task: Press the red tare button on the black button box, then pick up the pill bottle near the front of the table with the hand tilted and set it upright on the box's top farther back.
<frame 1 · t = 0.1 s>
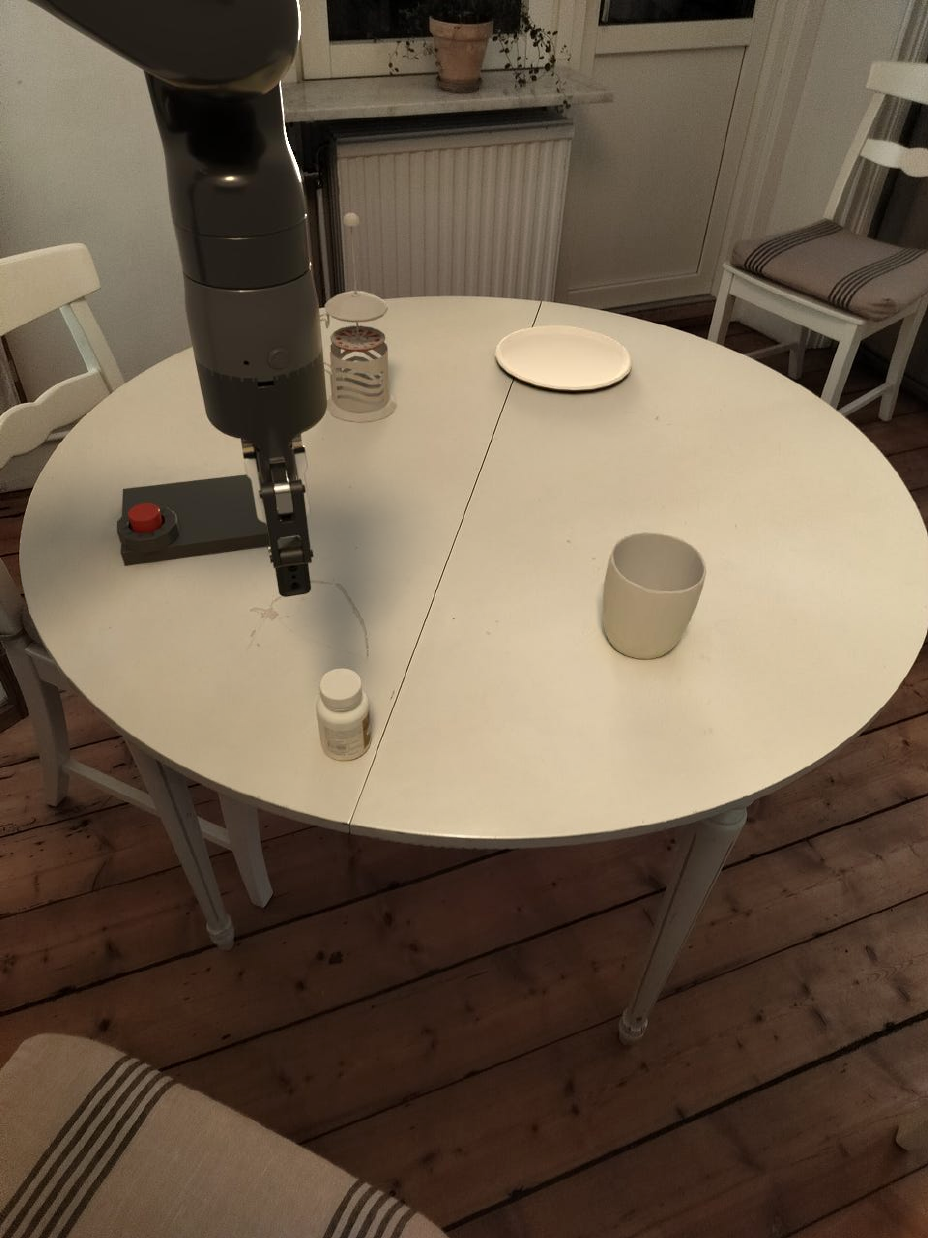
hand: (288, 554, 61), 20 cm above the table, tool pointing down, fingers open, 8 cm apart
french press: (355, 404, 116), on the table
black button box: (199, 522, 95), on the table
plate: (562, 363, 127), on the table
mug: (632, 625, 85), on the table
pill bottle: (346, 743, 73), on the table
tare button: (145, 518, 89), point 4 cm above the table, slide at 0.1 cm
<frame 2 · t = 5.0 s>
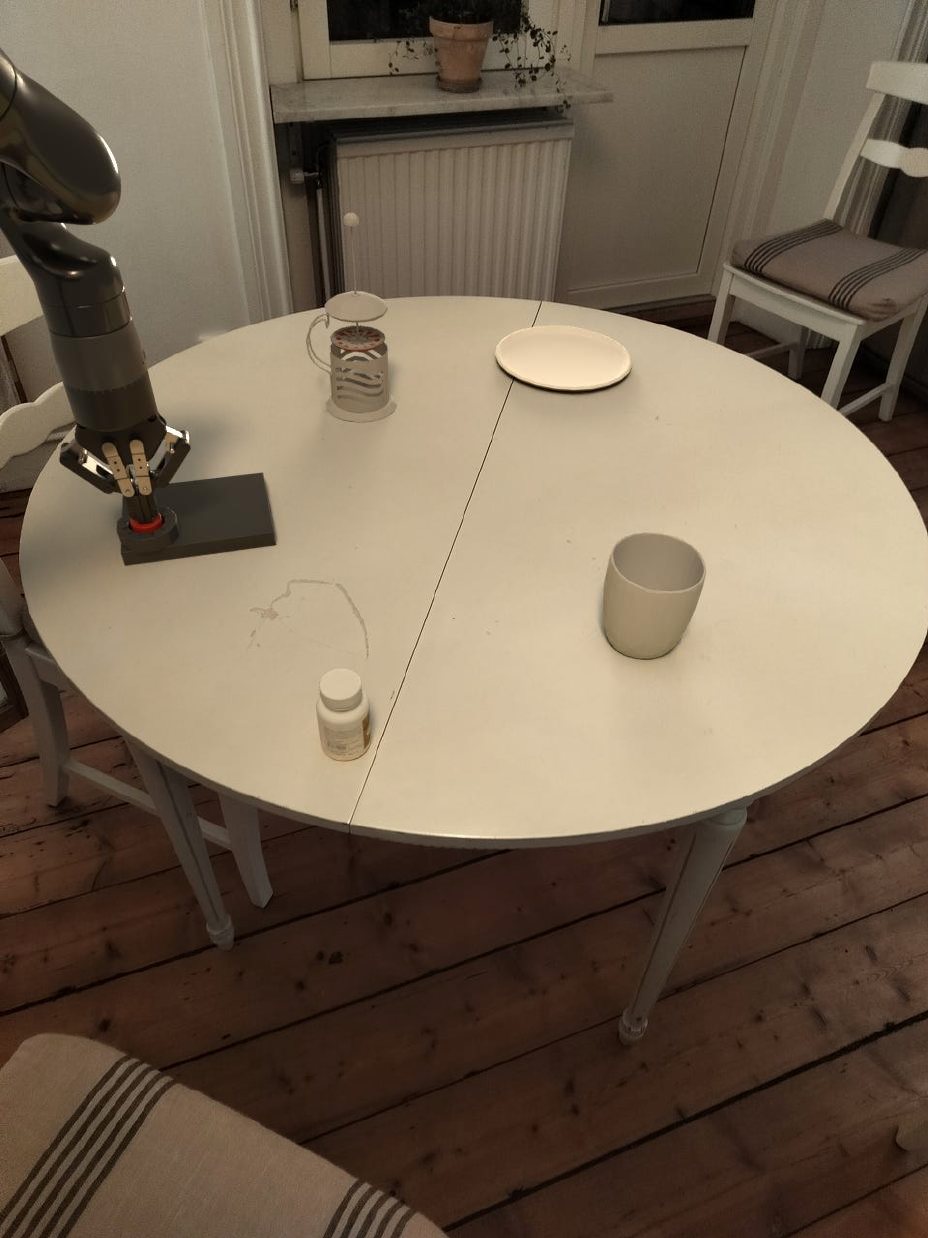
hand: (146, 518, 89), 4 cm above the table, tool pointing down, fingers closed
tare button: (147, 525, 89), point 3 cm above the table, slide at -0.8 cm, touching gripper
everything else where it was.
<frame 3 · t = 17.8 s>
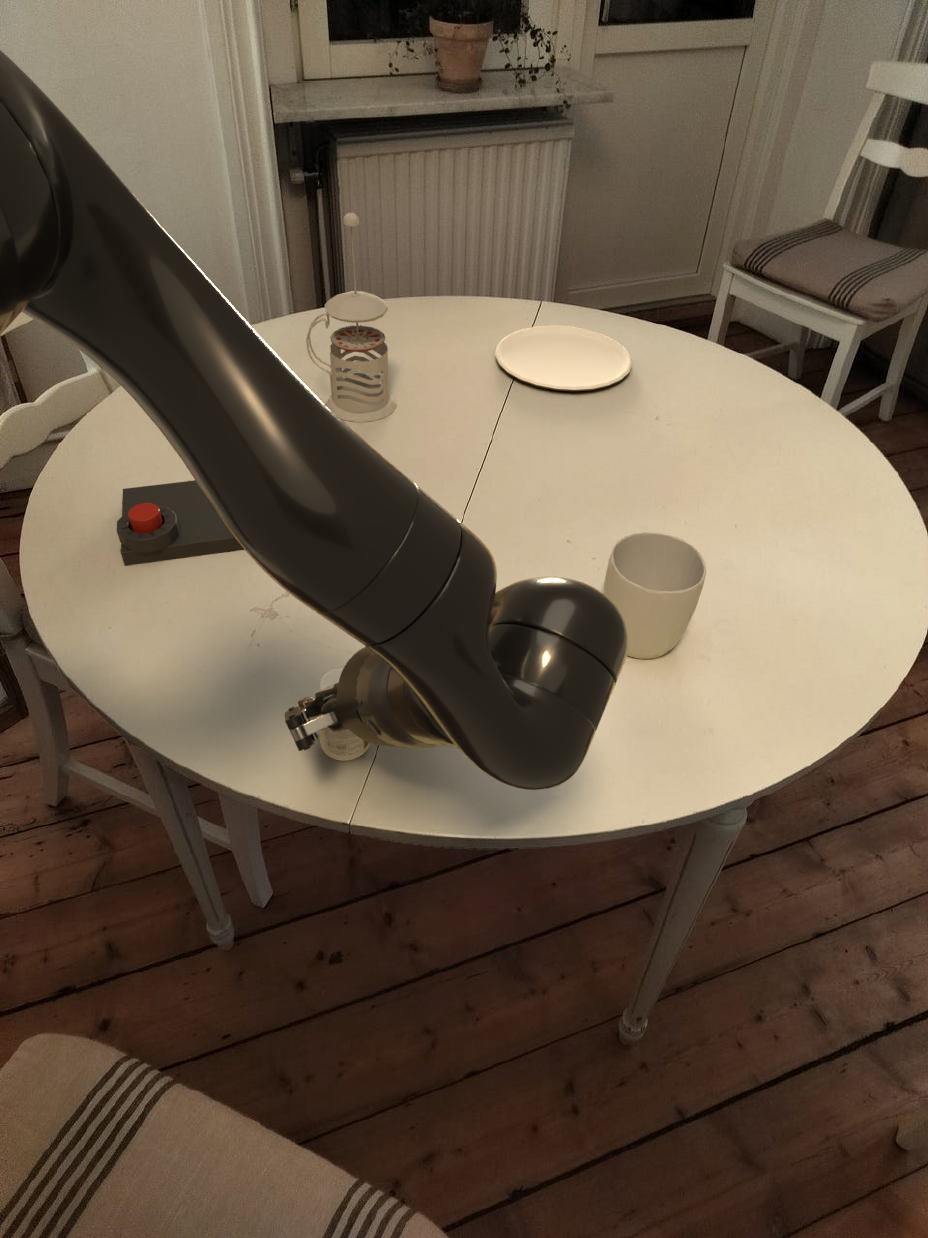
hand: (331, 698, 71), 4 cm above the table, tool tilted 45°, fingers closed on pill bottle, 4 cm apart
pill bottle: (346, 743, 73), on the table, touching gripper
tare button: (145, 518, 89), point 4 cm above the table, slide at 0.1 cm
everything else where it was.
when the fingers open (6 cm above the table, at t = 29.0 s): pill bottle stays where it is, resting on black button box.
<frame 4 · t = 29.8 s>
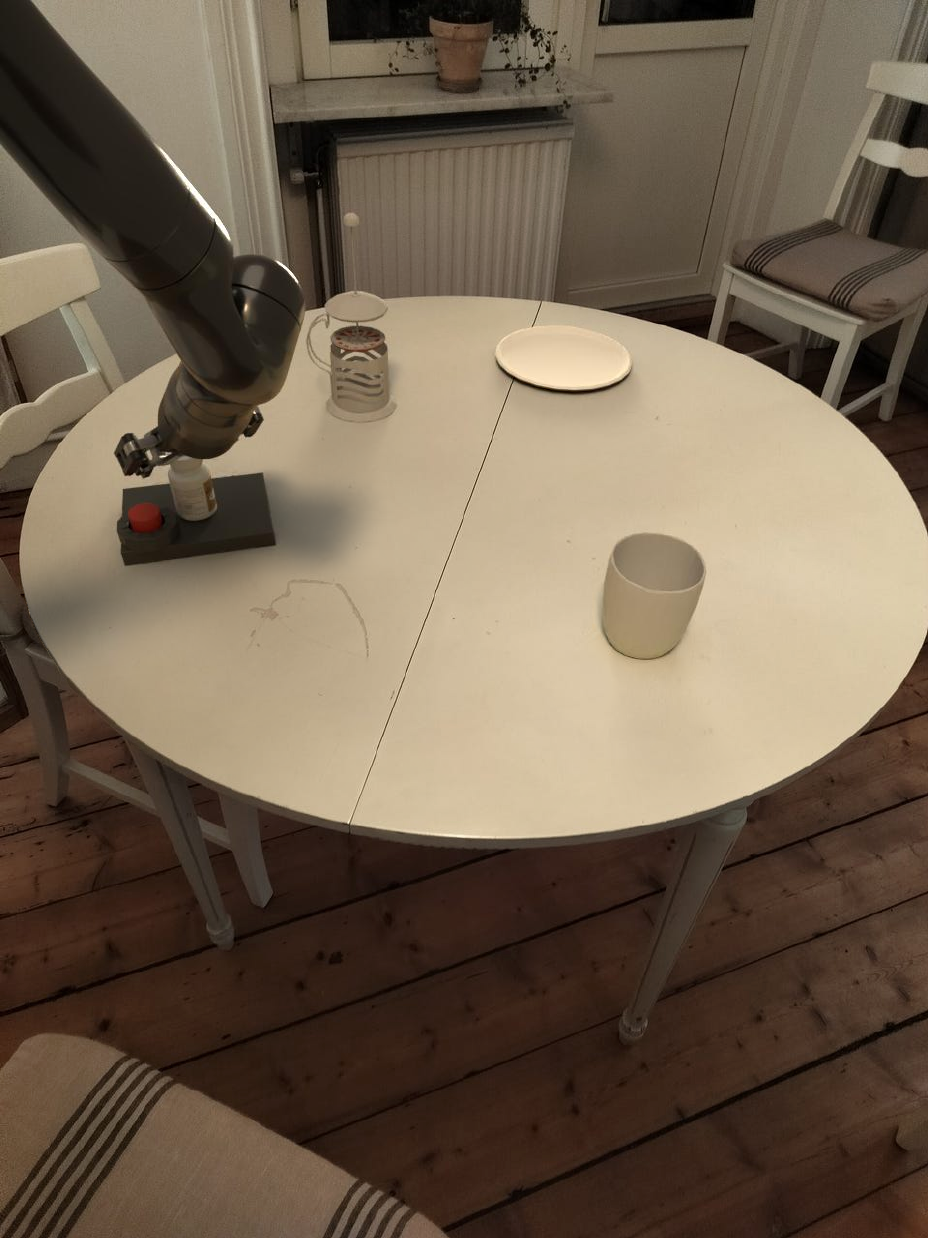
hand: (179, 456, 90), 8 cm above the table, tool tilted 45°, fingers open, 8 cm apart
pill bottle: (197, 511, 94), point 2 cm above the table, touching black button box
everything else where it was.
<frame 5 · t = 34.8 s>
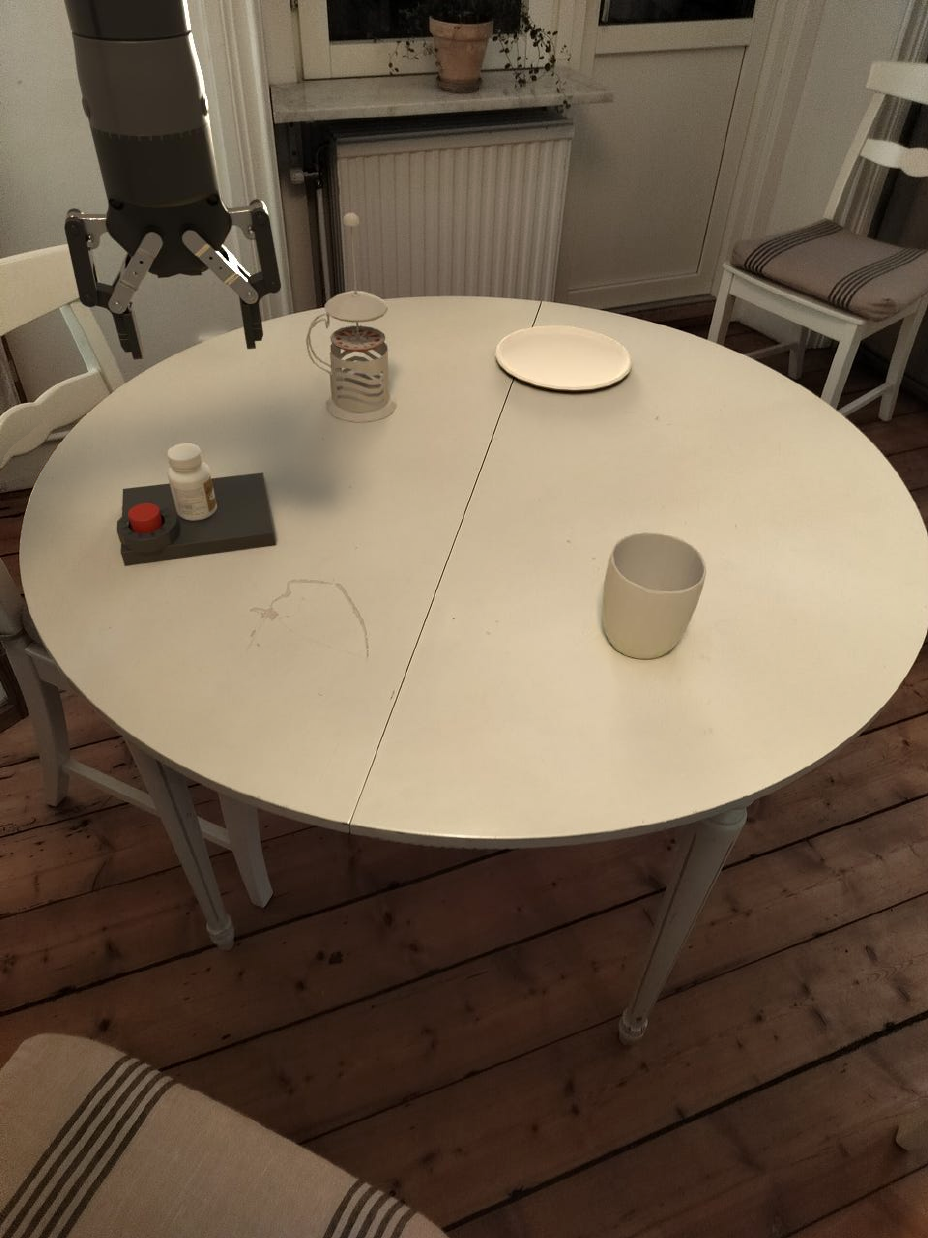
hand: (195, 349, 65), 28 cm above the table, tool pointing down, fingers open, 8 cm apart
nothing on the table moved.
at the end: tare button pushed in 1.0 cm at the most during the clip, back to where it started at the end; pill bottle inside the target area on the black button box (0.1 cm from its centre), point 1.6 cm above the black button box's base; pill bottle tilted 0° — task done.
